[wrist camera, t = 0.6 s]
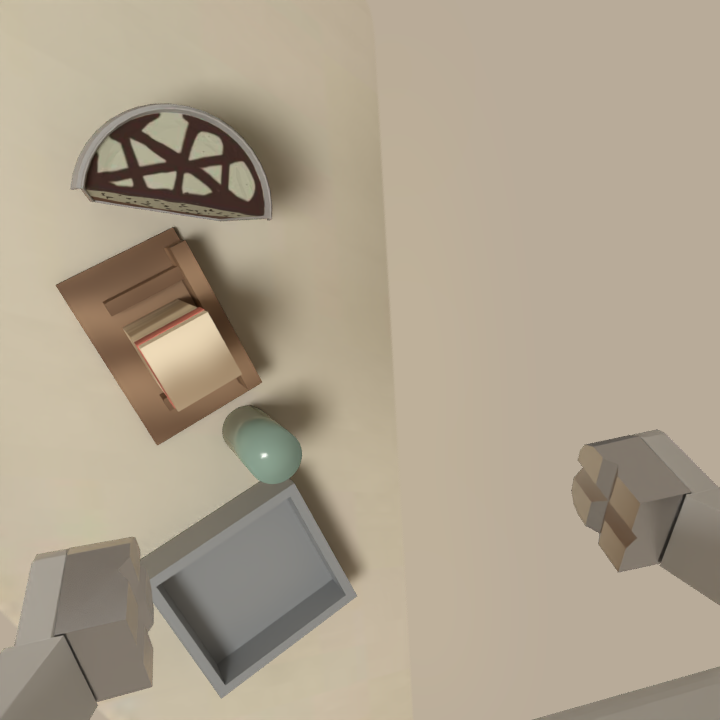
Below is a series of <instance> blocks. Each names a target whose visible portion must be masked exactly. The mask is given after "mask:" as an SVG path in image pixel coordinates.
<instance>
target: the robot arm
mask: <svg viewBox="0 0 720 720" xmlns="http://www.w3.org/2000/svg"><path fill="white" fill-rule="evenodd" d="M578 461H579V463H580V464H581V466H582V467H583V468H582V469H581V470H580V471H579V472H578V473H577V475H576V476H575V477H574V479H573V484H572V490H571V491H572V497H573V503H574V506H575V508H576V511H577V513H578V515H579V517H580V518H581V520H582V521H583V523H584V524H585V526H587V527H589V528H591V529H593V530H594V531H596V532H598V533H599V542H598V544H599V546H600V547H601V549H602V550H603V551H604V553H605V554H606V556H607V557H608V558H609V560H610V561H611V563H612V564H613V566H614V567H615V568H616V570H617V571H618V572H622V571H627V570H632V569H637V568H641V567H646V566H651V565H655V564H660V563H661V564H660V566H661V567H662V568H664V569H666V570H667V571H669V572H670V573H671V574H673V575H674V576H676V577H677V578H679V579H681V580H682V581H684V582H685V583H687V584H688V585H690V586H691V587H693V588H694V589H696V590H697V591H699V592H700V593H702V594H703V595H705V596H706V597H708V598H709V599H711V600H712V601H714V602H715V603H717V604H719V605H720V487H718V486H717V485H716V484H715V483H714V482H713V481H712V480H711V479H710V478H709V477H708V476H707V475H706V474H705V473H704V472H703V471H702V470H701V469H700V468H699V467H698V466H697V465H696V464H695V463H694V462H693V461H692V460H691V459H690V458H689V457H688V456H687V455H686V454H685V453H684V452H683V451H682V450H681V449H680V448H679V447H678V446H677V445H676V444H675V443H674V442H673V441H672V440H671V439H670V438H669V437H668V436H667V435H666V434H665V433H664V432H662V431H660V430H653V431H648V432H643V433H639V434H634V435H628V436H623V437H618V438H614V439H609V440H605V441H600V442H595V443H590V444H586V445H584V446H583V447H582V449H581V450H580V453H579V458H578ZM153 624H154V608H153V597H152V589H151V584H150V579H149V575H148V572H147V569H146V568H145V567H143V566H141V565H140V548H139V546H138V543H137V540H136V538H135V537H128V538H123V539H117V540H112V541H106V542H100V543H95V544H89V545H83V546H78V547H72V548H69V549H64V550H58V551H53V552H47V553H42V554H37V555H36V557H35V559H34V560H33V562H32V564H31V568H30V573H29V578H28V583H27V587H26V592H25V597H24V602H23V606H22V611H21V616H20V621H19V625H18V630H17V635H16V640H15V644H14V646H12V647H8V648H4V649H3V650H2V651H1V653H0V720H90V718H91V716H92V715H93V713H94V711H95V709H96V708H97V706H98V705H97V702H99V701H102V700H106V699H110V698H113V697H117V696H121V695H124V694H128V693H132V692H135V691H139V690H143V689H146V688H150V687H152V679H153V647H152V644H151V641H150V638H149V635H148V631H149V630H150V628H151V627H152V626H153ZM533 720H720V667H716V668H713V669H709V670H706V671H702V672H699V673H696V674H692V675H688V676H685V677H681V678H678V679H674V680H671V681H667V682H664V683H660V684H657V685H653V686H650V687H646V688H643V689H639V690H636V691H632V692H628V693H625V694H621V695H618V696H615V697H611V698H607V699H604V700H600V701H597V702H593V703H590V704H586V705H583V706H579V707H576V708H572V709H569V710H565V711H562V712H558V713H555V714H551V715H548V716H544V717H540V718H537V719H533Z"/></svg>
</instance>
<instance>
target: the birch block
mask: <svg viewBox="0 0 720 720" xmlns="http://www.w3.org/2000/svg"><path fill="white" fill-rule="evenodd" d="M123 330H124V331H125V333H126V335H127V336H128V338H129V340H130V341H131V343H132V344H133V346H134V348H135V349H136V351H137V353H138V354H139V356H140V358H141V359H142V361H143V362H144V364H145V366H146V367H147V369H148V371H149V372H150V374H151V376H152V377H153V379H154V380H155V381H156V383H157V384H158V385H159V387H160V388H161V389H162V391H163V392H164V393H165V395H166V396H167V398H168V399H169V401H170V403H171V404H172V405H173V407H174V408H176V409H177V411H178V412H179V411H181V410H183V409H184V408H186V407H188V406H189V405H191V404H193V403H194V402H196V401H198V400H199V399H201V398H203V397H205V396H206V395H208V394H210V393H211V392H213V391H215V390H216V389H218V388H220V387H222V386H223V385H225V384H227V383H228V382H230V381H232V380H233V379H235V378H237V377H238V376H240V375H242V373H241V371H240V369H239V368H238V366H237V364H236V362H235V360H234V359H233V357H232V355H231V353H230V351H229V349H228V348H227V346H226V344H225V342H224V340H223V339H222V337H221V335H220V333H219V331H218V330H217V328H216V326H215V324H214V322H213V321H212V319H211V317H210V315H209V313H208V312H207V311H205V310H204V309H202V308H200V307H198V308H197V307H195V306H193V305H190V304H188V303H186V302H183V301H181V300H179V299H175V300H173V301H172V302H170V303H168V304H166V305H164V306H162V307H160V308H158V309H157V310H155V311H153V312H151V313H149V314H147V315H145V316H143V317H141V318H140V319H138V320H136V321H134V322H132V323H130V324H128V325H126V326H125V327H123Z"/></svg>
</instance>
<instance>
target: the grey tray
mask: <svg viewBox="0 0 720 720" xmlns="http://www.w3.org/2000/svg"><path fill="white" fill-rule="evenodd" d="M140 565H141V566H143V567H145V568H146V569H147V572H148V575H149V579H150V584H151V589H152V597H153V603H154V605H155V606H156V607H157V609H158V610H159V612H160V613H161V614H162V616H163V617H164V619H165V620H166V621H167V623H168V624H169V626H170V627H171V629H172V630H173V631H174V633H175V634H176V636H177V637H178V638H179V640H180V641H181V643H182V644H183V645H184V647H185V648H186V650H187V651H188V652H189V654H190V655H191V657H192V658H193V659H194V661H195V662H196V664H197V665H198V666H199V668H200V669H201V671H202V672H203V674H204V675H205V676H206V678H207V679H208V681H209V682H210V683H211V685H212V686H213V688H214V689H215V690H216V692H217V693H218V695H219V696H220V697H221V698H223V697H224V696H225V695H227V694H228V693H229V692H231V691H232V690H233V689H235V688H236V687H237V686H239V685H240V684H241V683H243V682H244V681H245V680H247V679H248V678H249V677H251V676H252V675H253V674H255V673H256V672H257V671H259V670H260V669H261V668H263V667H264V666H265V665H266V664H268V663H269V662H270V661H272V660H273V659H274V658H276V657H277V656H278V655H280V654H281V653H282V652H284V651H285V650H286V649H288V648H289V647H290V646H292V645H293V644H294V643H296V642H297V641H298V640H300V639H301V638H302V637H304V636H305V635H306V634H308V633H309V632H310V631H312V630H313V629H314V628H316V627H317V626H318V625H320V624H321V623H322V622H323V621H325V620H326V619H327V618H329V617H330V616H331V615H333V614H334V613H335V612H337V611H338V610H339V609H341V608H342V607H343V606H345V605H346V604H347V603H349V602H350V601H351V600H353V599H354V598H355V597H357V595H356V593H355V591H354V589H353V588H352V586H351V584H350V582H349V580H348V579H347V577H346V575H345V573H344V571H343V570H342V568H341V566H340V564H339V562H338V561H337V559H336V557H335V555H334V553H333V552H332V550H331V548H330V546H329V544H328V543H327V541H326V539H325V537H324V536H323V534H322V532H321V530H320V528H319V527H318V525H317V523H316V521H315V519H314V518H313V516H312V514H311V512H310V510H309V509H308V507H307V505H306V503H305V501H304V500H303V498H302V496H301V494H300V492H299V491H298V489H297V487H296V485H295V483H294V482H293V481H292V480H291V479H290V478H289V479H288V480H286V481H284V482H281V483H278V484H267V483H263V482H261V481H260V482H259V483H257V484H256V485H254V486H252V487H251V488H249V489H248V490H246V491H245V492H243V493H242V494H240V495H239V496H237V497H236V498H234V499H233V500H231V501H229V502H228V503H226V504H225V505H223V506H222V507H220V508H219V509H217V510H216V511H214V512H213V513H211V514H210V515H208V516H207V517H205V518H203V519H202V520H200V521H199V522H197V523H196V524H194V525H193V526H191V527H190V528H188V529H187V530H185V531H184V532H182V533H181V534H179V535H177V536H176V537H174V538H173V539H171V540H170V541H168V542H167V543H165V544H164V545H162V546H161V547H159V548H158V549H156V550H154V551H153V552H151V553H150V554H148V555H147V556H145V557H144V558H142V559H141V560H140Z"/></svg>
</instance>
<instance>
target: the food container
mask: <svg viewBox="0 0 720 720" xmlns="http://www.w3.org/2000/svg"><path fill="white" fill-rule="evenodd" d="M70 189H72V190H74V189H81V190H82V191H83V192H84V194H85V195H86V196H87V198H88V199H89V200H90V202H97V203H104V204H110V205H117V206H124V207H130V208H137V209H143V210H150V211H157V212H163V213H170V214H176V215H183V216H190V217H196V218H203V219H209V220H216V221H232V220H250V219H267V220H271V219H272V200H271V192H270V188H269V184H268V180H267V177H266V174H265V172H264V170H263V167H262V165H261V163H260V161H259V159H258V158H257V156H256V154H255V153H254V151H253V149H252V148H251V147H250V146H249V145H248V143H247V142H246V141H245V140H244V138H243V137H242V136H240V135H239V134H238V133H237V132H236V131H235V130H234V129H233V128H232V127H230V126H229V125H228V124H226V123H225V122H223V121H222V120H220V119H219V118H217V117H215V116H213V115H211V114H209V113H207V112H205V111H202V110H198V109H195V108H192V107H188V106H182V105H175V104H150V105H144V106H139V107H135V108H133V109H130V110H127V111H125V112H122V113H120V114H119V115H117V116H115V117H113V118H112V119H110V120H108V121H107V122H106V123H105V124H104V125H102V126H101V127H100V128H99V129H98V130H97V131H96V132H95V133H94V134H93V135H92V137H91V138H90V139H89V140H88V142H87V143H86V144H85V146H84V148H83V150H82V152H81V153H80V155H79V157H78V159H77V162H76V165H75V168H74V171H73V175H72V181H71V188H70Z"/></svg>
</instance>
